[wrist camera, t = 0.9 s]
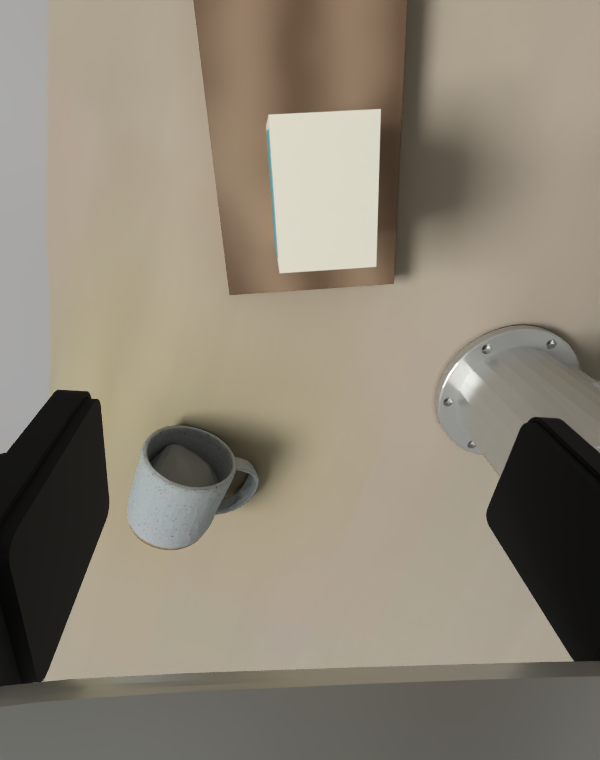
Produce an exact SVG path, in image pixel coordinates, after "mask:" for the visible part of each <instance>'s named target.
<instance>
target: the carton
mask: <svg viewBox="0 0 600 760" xmlns="http://www.w3.org/2000/svg"><path fill="white" fill-rule="evenodd" d="M380 123H381V109H370V110H350V111H330V112H310V113H290V114H270V115H268V119H267V124H266V130H267V133H266V137H267V151H268V165H269V178H270V192H271V206H272V220H273V234H274V242H275V249H276V255H277V260H278V267H279V273H293V272H308V271H322V270H337V269H352V268H367V267H376V261H377V226H378V192H379V158H380Z"/></svg>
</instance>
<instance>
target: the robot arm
mask: <svg viewBox="0 0 600 760" xmlns="http://www.w3.org/2000/svg"><path fill="white" fill-rule="evenodd" d="M435 407H436V414H437V418H438V421H439V423H440V425H441V427H442V429H443V430H444V432H445V433H446V435H447V436H448V437H449V438H450V440H451V441H452V442H454V443H455V444H456V445H457V446H459V447H460V448H462V449H464V450H466V451H469V452H472V453H476V454H480V455H484V457H485V458H486V460H487V461H488V462H489V464H490V465H491V466H492V468H493V469H494V470H495V472H496V473H497V474H498V476H499V477H500V479H499V482H498V484H497V486H496V489H495V491H494V494H493V496H492V499H491V501H490V504H489V506H488V509H487V514H486V517H487V522H488V525H489V527H490V528H491V530H492V531H493V533H494V535H495V536H496V538H497V539H498V541H499V543H500V544H501V546H502V547H503V549H504V551H505V552H506V554H507V555H508V557H509V559H510V560H511V562H512V563H513V565H514V567H515V568H516V570H517V571H518V573H519V575H520V576H521V578H522V579H523V581H524V583H525V584H526V586H527V587H528V589H529V591H530V592H531V594H532V595H533V597H534V599H535V600H536V602H537V603H538V605H539V607H540V608H541V610H542V611H543V613H544V615H545V616H546V618H547V619H548V621H549V622H550V624H551V626H552V627H553V629H554V630H555V632H556V634H557V635H558V637H559V638H560V640H561V642H562V643H563V645H564V646H565V648H566V650H567V651H568V653H569V654H570V656H571V657H572V659H573V660H574V661H575V662H533V663H496V664H460V665H425V666H390V667H356V668H327V669H297V670H268V671H239V672H209V673H183V674H163V675H144V676H125V677H105V678H86V679H68V680H58V681H48V682H41V681H43V679H44V678H45V676H46V674H47V672H48V669H49V667H50V664H51V662H52V659H53V656H54V654H55V651H56V649H57V646H58V643H59V641H60V638H61V636H62V633H63V630H64V628H65V625H66V623H67V620H68V618H69V615H70V612H71V610H72V607H73V605H74V602H75V599H76V597H77V594H78V592H79V589H80V586H81V584H82V581H83V579H84V576H85V573H86V571H87V568H88V566H89V563H90V560H91V558H92V555H93V553H94V550H95V547H96V545H97V542H98V540H99V537H100V534H101V532H102V529H103V527H104V524H105V521H106V519H107V515H108V510H109V492H108V481H107V470H106V459H105V448H104V437H103V426H102V415H101V405H100V401H99V400H98V399H91V396H90V393H89V392H88V391H70V390H57V391H55V392H54V393H53V395H52V396H51V397H50V398H49V400H48V401H47V403H46V404H45V405H44V406H43V407H42V409H41V410H40V411H39V412H38V414H37V415H36V416H35V417H34V419H33V420H32V421H31V422H30V424H29V425H28V427H27V428H26V429H25V430H24V431H23V433H22V434H21V435H20V436H19V438H18V439H17V440H16V441H15V443H14V444H13V445H12V446H11V448H10V449H9V450H8V451H7V453H3V454H0V760H600V380H594V379H593V378H591V377H590V376H588V375H587V374H585V373H584V372H582V371H581V370H580V364H579V362H578V359H577V356H576V354H575V352H574V351H573V349H572V348H571V347H570V345H569V344H568V343H567V342H565V341H564V340H563V339H562V338H560V337H559V336H557V335H556V334H554V333H552V332H550V331H548V330H545V329H543V328H540V327H536V326H527V325H519V326H509V327H505V328H501V329H497V330H494V331H492V332H489V333H487V334H485V335H482V336H481V337H479V338H477V339H476V340H474V341H473V342H471V343H470V344H468V345H467V346H466V347H465V348H464V349H463V350H461V351H460V352H459V353H458V354H457V355H456V356H455V358H454V359H453V360H452V361H451V362H450V364H449V365H448V366H447V368H446V370H445V372H444V373H443V375H442V377H441V379H440V382H439V385H438V387H437V392H436V398H435ZM34 682H38V683H34Z"/></svg>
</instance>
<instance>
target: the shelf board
mask: <svg viewBox="0 0 600 760" xmlns="http://www.w3.org/2000/svg"><path fill="white" fill-rule="evenodd" d="M193 1H194V9H195V17H196V25H197V33H198V41H199V50H200V58H201V66H202V74H203V82H204V90H205V99H206V107H207V115H208V123H209V131H210V139H211V148H212V156H213V164H214V172H215V180H216V188H217V197H218V205H219V213H220V221H221V229H222V237H223V246H224V254H225V262H226V270H227V278H228V286H229V294H230V295H238V294H252V293H267V292H281V291H295V290H310V289H324V288H339V287H353V286H368V285H382V284H394V270H395V249H396V228H397V207H398V186H399V165H400V144H401V123H402V102H403V81H404V60H405V39H406V18H407V0H193ZM370 109H381V123H380V158H379V192H378V226H377V261H376V267H367V268H352V269H337V270H322V271H308V272H293V273H279V267H278V260H277V255H276V249H275V242H274V234H273V220H272V206H271V192H270V178H269V165H268V151H267V137H266V133H267V130H266V124H267V119H268V115H270V114H290V113H310V112H330V111H350V110H370Z"/></svg>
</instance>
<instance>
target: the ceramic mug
mask: <svg viewBox="0 0 600 760" xmlns="http://www.w3.org/2000/svg"><path fill="white" fill-rule="evenodd" d="M236 470H238V471H242V472H246V473H248V474H249V476H248V478H247V479H246V481H245V483H244V484H243V486H242V488H241V489H239V491H238V492H237V493H236V494H234V495H232V496H230V497H228V498H224V496H225V494H226V492H227V490H228V488H229V486H230V484H231V482H232V480H233V478H234V475H235V472H236ZM258 484H259V478H258V475H257V473H256V471H255V469H254V467H253V466H252V464H251V463H250V462H249V461H247V460H245V459H242V458H238V457H235V456H234V454H233V452H232V451H231V449H230V448H229V447H228V446H227V445H226V443H225V442H223V441H222V440H221V439H219V438H218V437H217V436H215V435H213V434H211V433H209V432H207V431H204V430H201V429H199V428H195V427H190V426H179V425H176V426H168V427H164V428H161V429H159V430H157V431H155V432H154V433H152V434H151V435H150V436H149V437H148V438H147V440H146V441H145V443H144V445H143V448H142V452H141V455H140V460H139V463H138V467H137V470H136V474H135V478H134V482H133V486H132V489H131V493H130V496H129V500H128V511H127V516H128V522H129V525H130V527H131V529H132V531H133V533H134V534H135V535H136V536H137V538H139V539H140V540H141V541H142V542H144V543H145V544H147V545H149V546H151V547H154V548H158V549H162V550H178V549H182V548H185V547H188V546H190V545H192V544H193V543H195V542H196V541H197V540H198V539H199V538H200V537H201V536H202V535H203V534H204V533H205V531H206V530H207V529H208V528H209V526H210V524H211V522H212V520H213V518H214V515H216V514H223V513H227V512H230V511H234V510H236V509H237V508H239V507H241V506H242V505H244V504H245V503H246V502H247V501H248V500H249V499H250V498H251V497H252V496H253V495H254V493H255V491H256V490H257V487H258ZM223 498H224V499H223Z"/></svg>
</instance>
